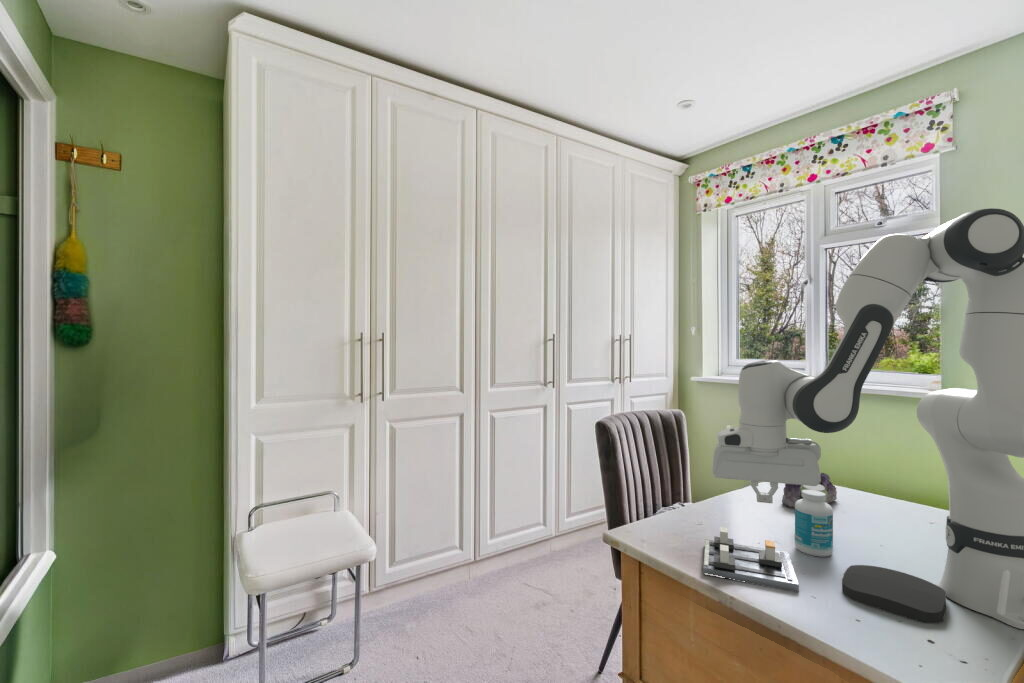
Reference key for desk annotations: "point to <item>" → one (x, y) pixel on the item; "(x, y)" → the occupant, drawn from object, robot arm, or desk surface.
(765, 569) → the panel
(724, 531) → the breaker
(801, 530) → the pill bottle
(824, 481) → the geode
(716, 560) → the breaker
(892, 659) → the desk surface
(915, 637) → the desk surface
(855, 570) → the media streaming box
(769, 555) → the breaker trip
